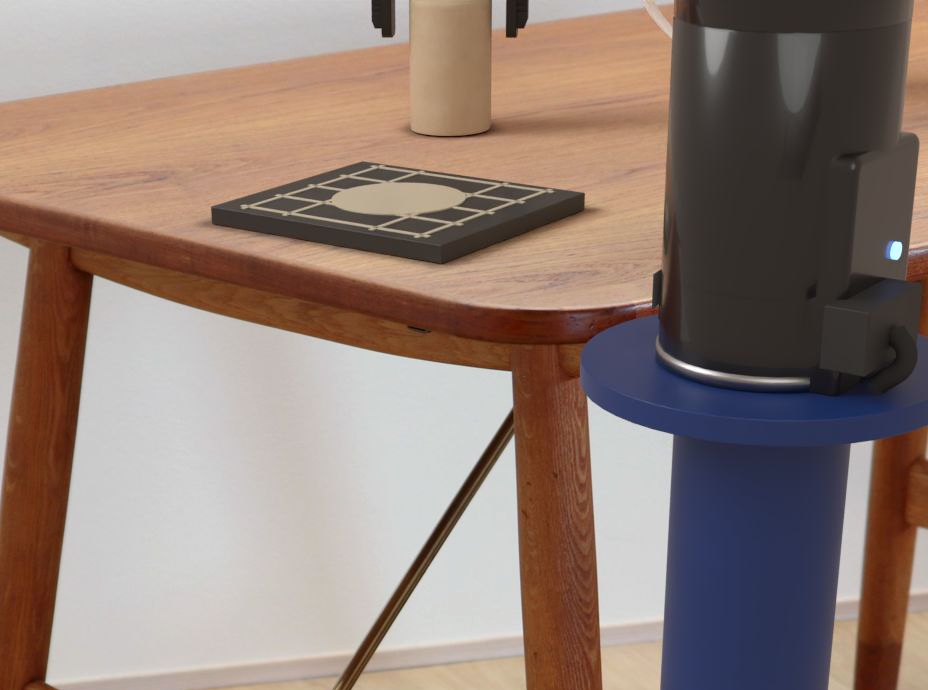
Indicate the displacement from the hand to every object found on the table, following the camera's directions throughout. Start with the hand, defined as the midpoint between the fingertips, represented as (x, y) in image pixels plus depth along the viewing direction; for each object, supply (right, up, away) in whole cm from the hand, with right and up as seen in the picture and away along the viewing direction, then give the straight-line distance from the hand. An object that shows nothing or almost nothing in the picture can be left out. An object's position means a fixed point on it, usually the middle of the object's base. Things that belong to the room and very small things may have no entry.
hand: (450, 36), depth 129 cm
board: (-4, -16, -20) cm, 26 cm away
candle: (0, -6, +3) cm, 6 cm away
